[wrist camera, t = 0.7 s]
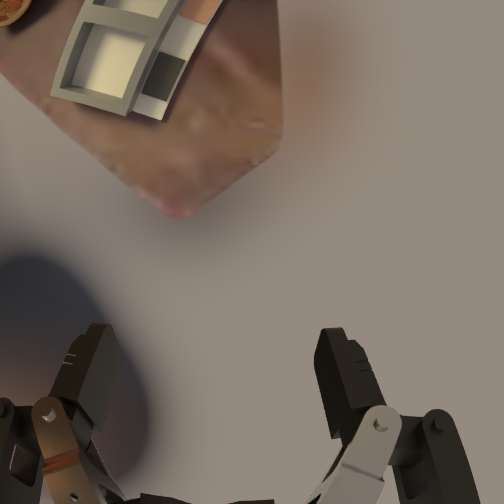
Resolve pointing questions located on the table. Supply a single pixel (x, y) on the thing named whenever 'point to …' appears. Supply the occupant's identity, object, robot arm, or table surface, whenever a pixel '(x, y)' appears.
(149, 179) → the table surface
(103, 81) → the socket board
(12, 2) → the fruit slice
